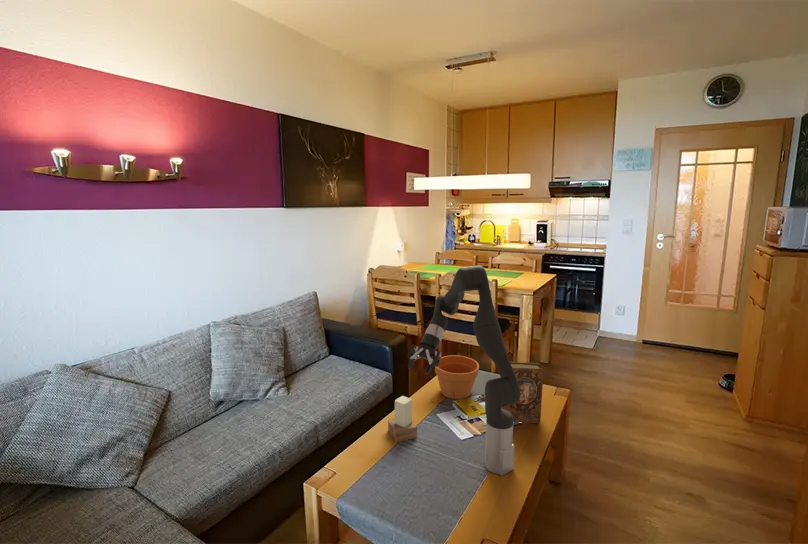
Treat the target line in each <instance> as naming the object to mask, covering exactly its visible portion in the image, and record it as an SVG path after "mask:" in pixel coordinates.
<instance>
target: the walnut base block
mask: <svg viewBox="0 0 808 544" xmlns="http://www.w3.org/2000/svg"><path fill="white" fill-rule="evenodd" d="M387 430H388V432H389V434H390V435H391V437H392V439H393V441H394V442H395V443H400V442H406V441H409V440H412V439H417V438H418V426H417V425H416V424H415V422H414V421H413V420H412V423H411V424H409V425H408V426H406V427H405V428H404V427H402V426H399V425H397V424H395V418H391V419H388V420H387ZM408 439H409V440H408Z"/></svg>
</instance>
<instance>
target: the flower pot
mask: <svg viewBox="0 0 808 544" xmlns="http://www.w3.org/2000/svg"><path fill="white" fill-rule="evenodd" d="M479 369H480V364H479V362H477V361H476V360H475V359H473V358H471V357H468V356H464V355H458V354H455V355H454V354H451V355H446V356H441V359H440V362H439V365H438V366H437V367H436V366H434V372H435V374H436V376H437V381H438V384H439V389H440V392H441V394H442V396H445V397H447V398H449V399H454V400H462V398H463V399H466V398H469V396H471V394H472V391H473V387H474V385H475V382H476V378H478V376H479V371H480V370H479Z"/></svg>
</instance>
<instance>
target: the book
mask: <svg viewBox="0 0 808 544" xmlns="http://www.w3.org/2000/svg"><path fill="white" fill-rule="evenodd" d="M510 363H511V366H512V369H513V371H514V374H515V376H516V379H517V382H518V385H519V388H520V400H519V401H518V402H517V403H514V404H510V405H505V406H502V407H501V408H502V409H505V410H507V411H509V412H510V413H511V414H512V415H513V418H514V421H513V422H522V423H521V424H525V423H537V424H536V425H539V424H541V419H542V417H541V415H542V399H543V383H544V369H543V368H542V367H541V364H540V363H539V362H516V361H515V362H514V361H510Z"/></svg>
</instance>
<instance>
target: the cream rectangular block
mask: <svg viewBox="0 0 808 544" xmlns="http://www.w3.org/2000/svg"><path fill="white" fill-rule="evenodd" d="M394 419H395V424H397V425H399V426H402V427H404V428H405V427H406V426H408V425H409V424H411V423H412V421H413V399H412V398H409V397H407V396H405V395H401V396H400V397H398V398H396V399H395V400H394Z"/></svg>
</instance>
